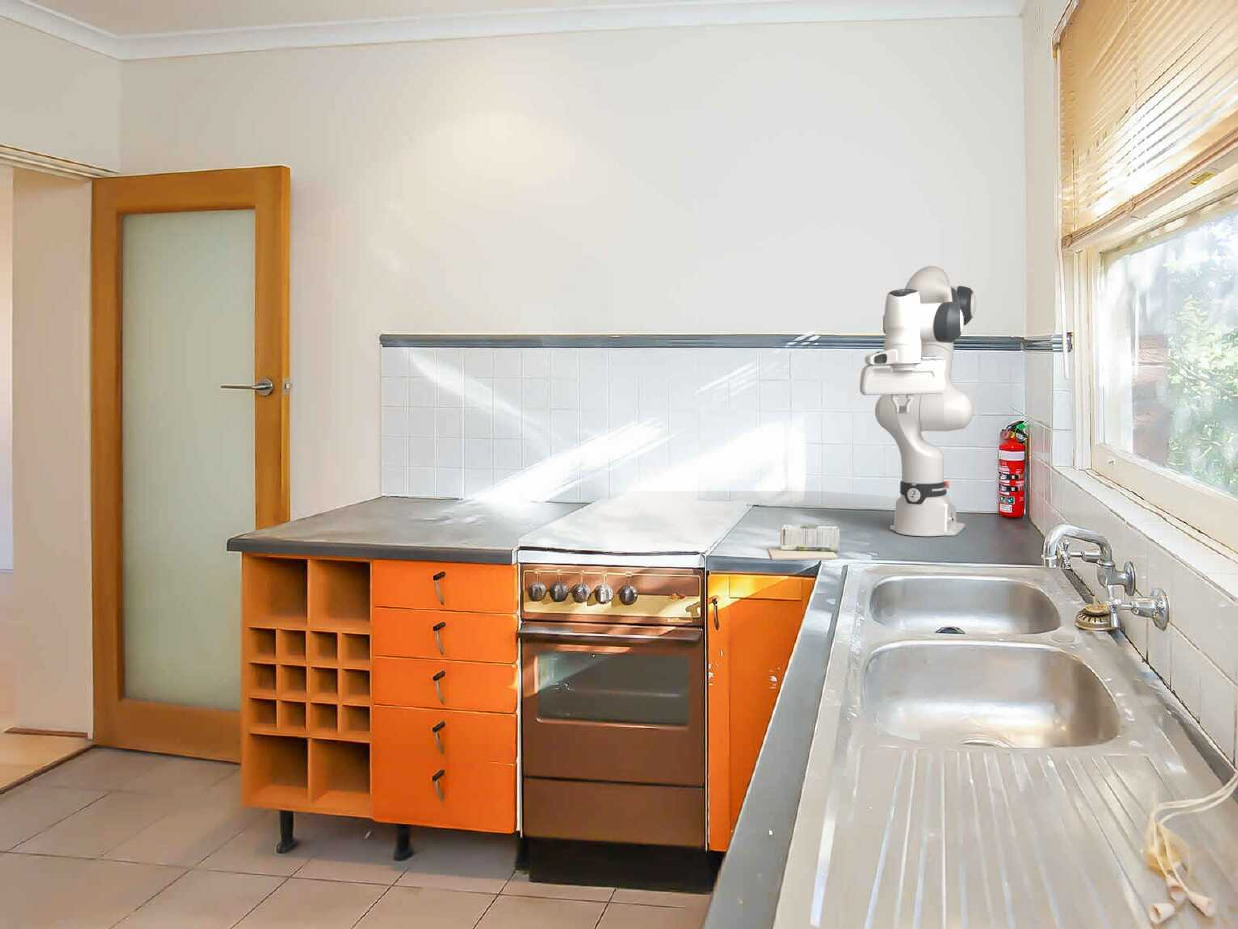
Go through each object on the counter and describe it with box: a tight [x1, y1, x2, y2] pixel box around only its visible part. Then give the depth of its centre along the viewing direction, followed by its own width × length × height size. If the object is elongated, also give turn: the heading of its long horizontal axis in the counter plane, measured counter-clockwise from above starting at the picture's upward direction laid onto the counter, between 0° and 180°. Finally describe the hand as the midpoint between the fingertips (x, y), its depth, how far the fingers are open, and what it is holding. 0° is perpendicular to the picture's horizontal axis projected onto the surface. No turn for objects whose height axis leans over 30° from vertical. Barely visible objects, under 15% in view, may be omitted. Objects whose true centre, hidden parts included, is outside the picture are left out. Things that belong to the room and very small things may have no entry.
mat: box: [767, 546, 839, 561], centre depth 267 cm, size 16×14×1 cm
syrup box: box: [779, 524, 840, 553], centre depth 270 cm, size 6×6×14 cm
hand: (902, 413), depth 259 cm, fingers closed
